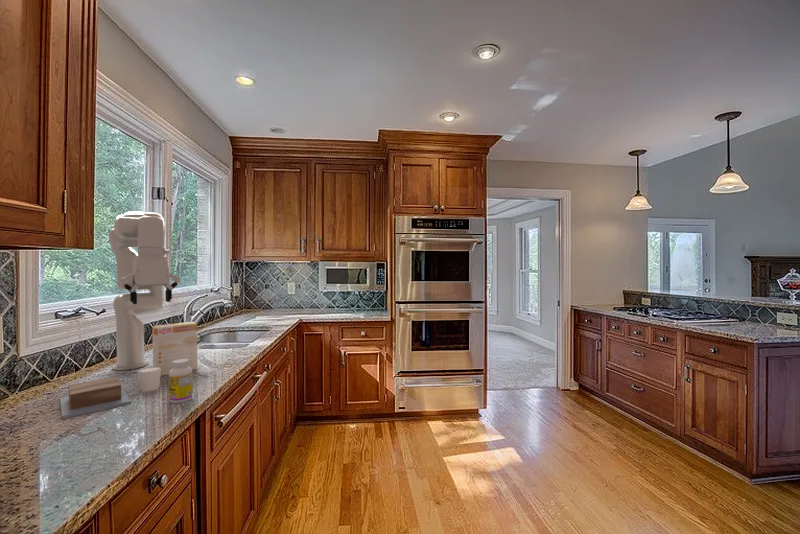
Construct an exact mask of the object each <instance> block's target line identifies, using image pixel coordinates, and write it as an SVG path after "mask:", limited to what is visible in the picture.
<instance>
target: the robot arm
mask: <svg viewBox="0 0 800 534" xmlns="http://www.w3.org/2000/svg"><path fill="white" fill-rule="evenodd" d="M113 222H114V223H113V228H111V230H110V231H109V233H108V240H109V241H108V242H109V245H110V248H111V250H112V252H113V254H114V256H115V259H116V280H117V281H116V282H117V287H118V289H120V290H121V291H129V293H123V294H119V295H117V296H116V297H115V298H114V299H113V304H112V306H113V310H114V314H115V315H114V316H115V323H116V324H115V326H116V327H115V328H116V364H113V365H112V367H111V369H112V370H114V371H127V370H135V369H139V368H140V369H141V368H142V367H146V366H148V365H149V360H147V359H145V325H144V323H143V321H141V320H140V318H138V317H137V316H140V315H151V314H154V315H155V314H158V313H160V312H161V311H162V310H163V306H164V305H163V304H164V301H163V286H164V288H165V289H166V290H165V297H164V298H165V302H167V303H168V302H169V303H171V300H172V298H173V290H174V289H175V288H176V287H177V286H178V285H179V282H180V280H181V277H179V276H177V275H175V274H172V273H171V272H170V269H169V264H168V258H167V256H165V255H167V254H170V251H169V249H165V234H166V227H165V226H166V225H165V221H164V217H163V216H162V215H161V214H160V213H157V212H148V211H147V212H145V211H136V210H135V211H127V212H125V213H124V214H119V215H117V216H116V217H115V219H114V221H113ZM133 248H136V249H137V251H136V250H135V249H133ZM170 279H173V282H172V283H171V284H170ZM137 291H149V292H137Z"/></svg>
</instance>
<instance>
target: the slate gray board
mask: <svg viewBox="0 0 800 534" xmlns="http://www.w3.org/2000/svg"><path fill="white" fill-rule="evenodd" d="M59 403H60V404H59V405H60V412H61V419H62V420H64V419H68V418H72V417H76V416H82V415H86V414H91V413H95V412H99V411H103V410H104V411H105V410H108V409H113V408H117V407H121V406H126V405H130V404H132V400H131V399H130V396H128V394H127V392H126V391H125V388H124V387H123V386H122V385H121V400H116V401H111V402H107V403H102V404H97V405H93V406H88V407H83V408H79V409H74V410H71V409H70V403H69V395H68V396H64V397H63V396H62V397H60V398H59Z"/></svg>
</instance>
